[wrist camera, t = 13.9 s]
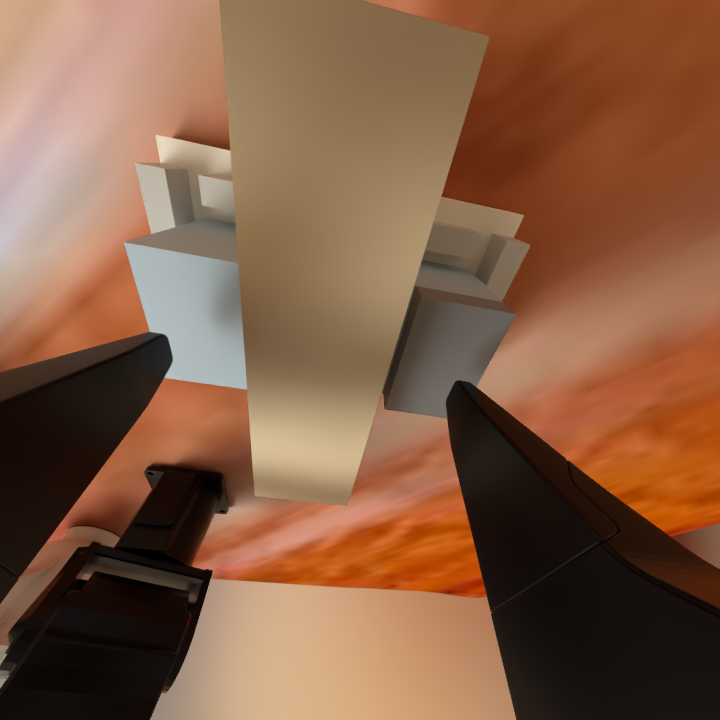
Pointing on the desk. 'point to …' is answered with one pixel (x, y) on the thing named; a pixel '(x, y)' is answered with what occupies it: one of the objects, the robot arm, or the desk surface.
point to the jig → (216, 201)
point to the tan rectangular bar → (332, 214)
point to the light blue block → (225, 329)
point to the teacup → (46, 574)
